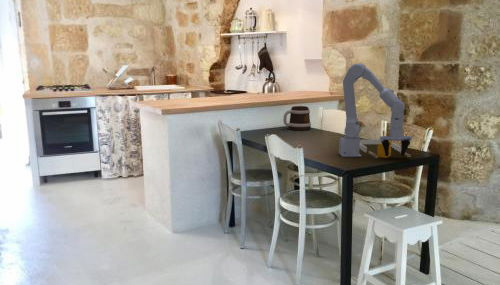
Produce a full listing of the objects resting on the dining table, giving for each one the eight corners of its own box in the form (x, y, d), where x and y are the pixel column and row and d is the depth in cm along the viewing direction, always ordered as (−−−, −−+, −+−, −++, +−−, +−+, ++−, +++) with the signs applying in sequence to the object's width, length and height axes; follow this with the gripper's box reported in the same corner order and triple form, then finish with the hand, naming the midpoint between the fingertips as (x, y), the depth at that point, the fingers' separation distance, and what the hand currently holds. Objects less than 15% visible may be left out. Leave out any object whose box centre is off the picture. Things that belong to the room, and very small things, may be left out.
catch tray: (365, 152, 218) (365, 147, 217) (352, 144, 238) (353, 139, 238) (401, 151, 219) (401, 146, 218) (385, 143, 239) (386, 139, 239)
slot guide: (375, 158, 205) (375, 155, 205) (368, 153, 215) (368, 151, 215) (410, 157, 206) (410, 155, 206) (401, 153, 216) (402, 150, 216)
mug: (303, 126, 298) (303, 105, 296) (315, 130, 285) (316, 107, 282) (277, 128, 290) (278, 106, 287) (289, 132, 277) (289, 108, 274)
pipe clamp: (385, 158, 206) (386, 145, 204) (377, 157, 208) (377, 143, 207) (394, 153, 215) (395, 141, 214) (385, 152, 218) (386, 140, 216)
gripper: (384, 128, 197) (382, 157, 199) (415, 128, 197) (413, 157, 200) (378, 126, 203) (377, 154, 206) (409, 126, 204) (407, 154, 207)
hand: (394, 155), depth 204 cm, fingers open, 7 cm apart
